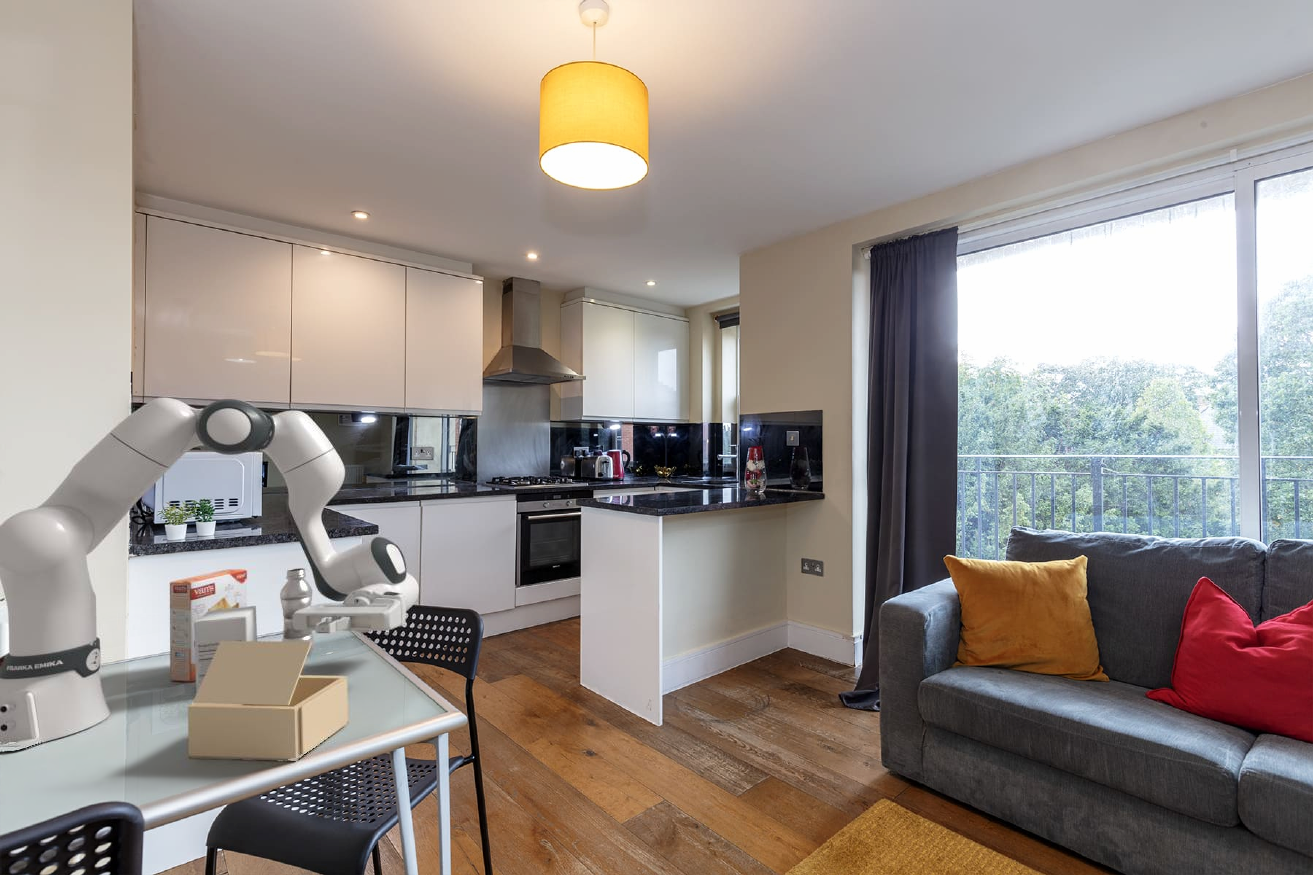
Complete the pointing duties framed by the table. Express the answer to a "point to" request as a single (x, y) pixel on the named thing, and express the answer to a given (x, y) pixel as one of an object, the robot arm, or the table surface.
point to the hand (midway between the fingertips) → (322, 629)
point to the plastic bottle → (296, 606)
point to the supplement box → (221, 634)
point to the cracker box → (199, 613)
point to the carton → (270, 723)
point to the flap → (253, 673)
